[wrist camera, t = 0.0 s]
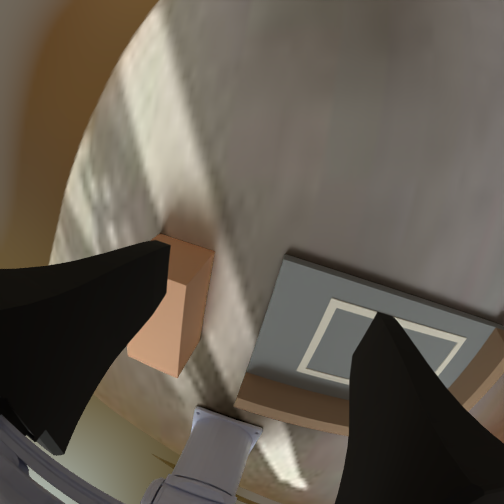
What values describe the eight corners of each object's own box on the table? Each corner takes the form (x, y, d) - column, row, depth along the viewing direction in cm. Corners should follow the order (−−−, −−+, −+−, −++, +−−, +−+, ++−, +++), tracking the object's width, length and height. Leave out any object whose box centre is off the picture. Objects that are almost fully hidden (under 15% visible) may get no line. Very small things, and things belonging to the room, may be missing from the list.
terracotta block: (200, 338, 25) (177, 378, 21) (155, 320, 26) (127, 355, 22) (215, 250, 21) (186, 285, 17) (160, 232, 22) (123, 261, 17)
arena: (425, 417, 24) (429, 445, 20) (244, 375, 26) (233, 406, 22) (502, 325, 18) (518, 353, 14) (285, 254, 20) (275, 282, 17)
